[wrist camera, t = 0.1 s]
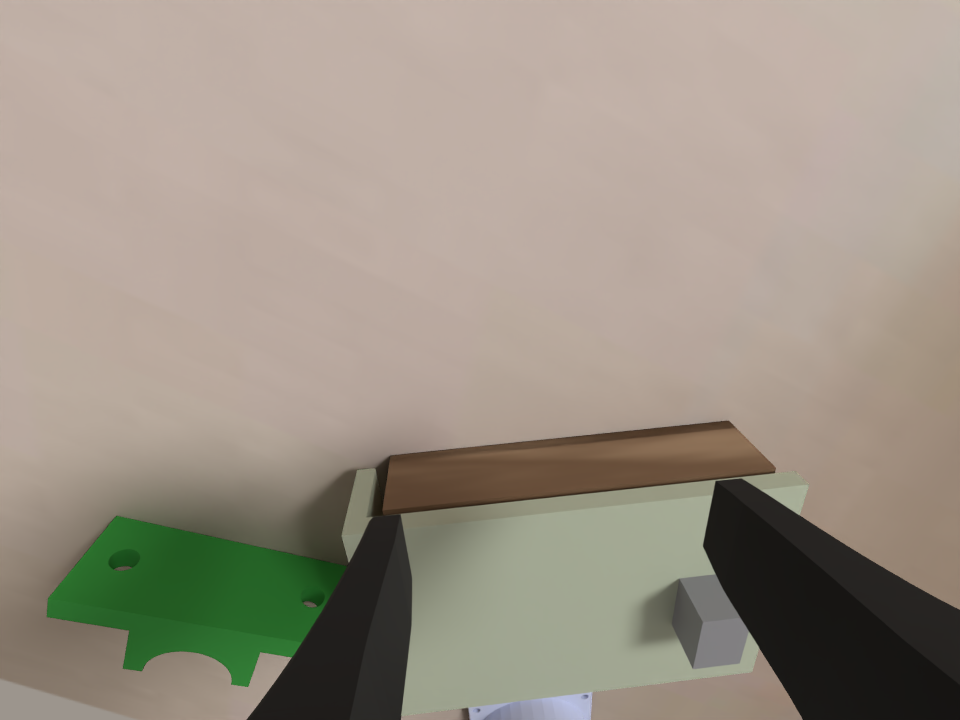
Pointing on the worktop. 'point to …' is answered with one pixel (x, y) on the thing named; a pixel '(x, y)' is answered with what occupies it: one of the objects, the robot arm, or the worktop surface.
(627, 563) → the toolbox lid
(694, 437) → the brown wooden shallow box
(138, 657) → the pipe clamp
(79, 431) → the worktop surface
